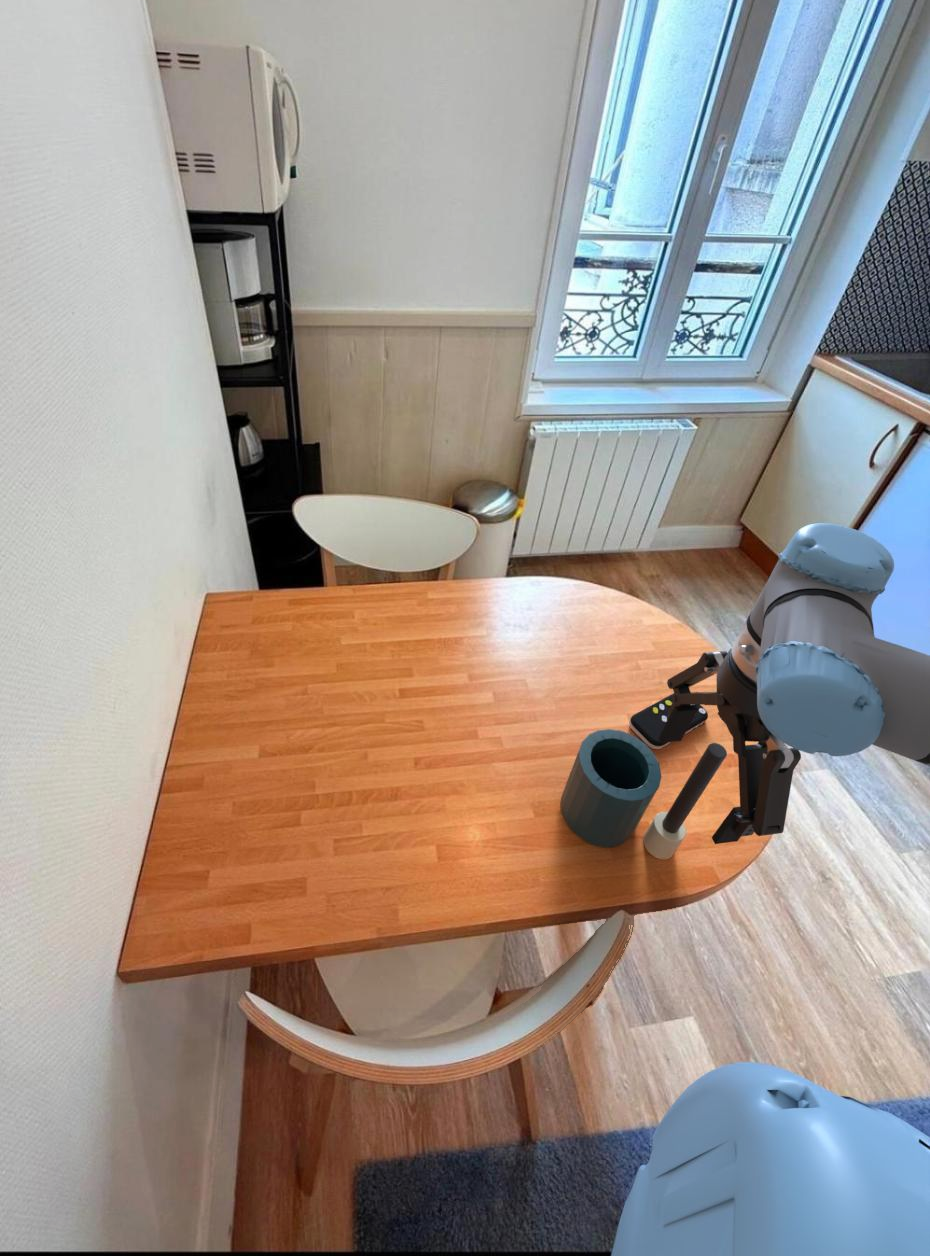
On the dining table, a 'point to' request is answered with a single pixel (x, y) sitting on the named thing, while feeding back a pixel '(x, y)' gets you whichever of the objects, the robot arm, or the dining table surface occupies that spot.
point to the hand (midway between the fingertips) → (695, 786)
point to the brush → (682, 806)
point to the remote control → (660, 721)
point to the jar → (609, 787)
